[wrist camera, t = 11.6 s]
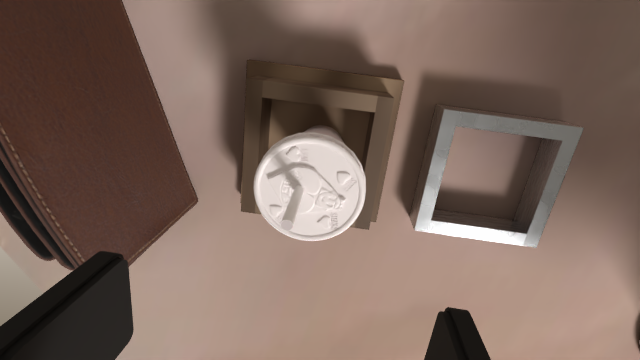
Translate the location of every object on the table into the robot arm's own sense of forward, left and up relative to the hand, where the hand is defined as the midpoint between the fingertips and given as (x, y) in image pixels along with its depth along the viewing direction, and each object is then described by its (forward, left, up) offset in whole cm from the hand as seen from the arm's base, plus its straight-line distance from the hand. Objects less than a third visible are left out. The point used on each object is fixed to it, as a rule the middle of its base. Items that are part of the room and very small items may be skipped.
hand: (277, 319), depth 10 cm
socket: (0, 0, -20) cm, 20 cm away
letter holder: (+19, -1, -21) cm, 28 cm away
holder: (-14, 0, -20) cm, 24 cm away
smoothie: (0, 0, -20) cm, 20 cm away
